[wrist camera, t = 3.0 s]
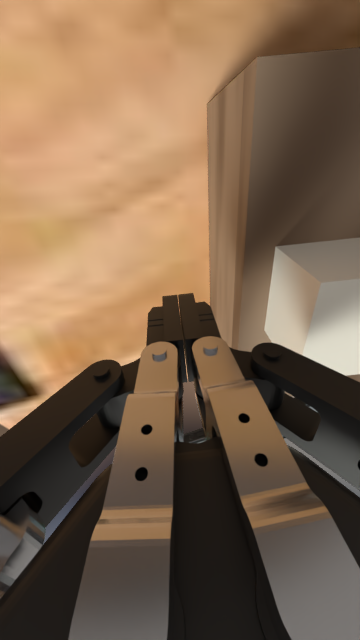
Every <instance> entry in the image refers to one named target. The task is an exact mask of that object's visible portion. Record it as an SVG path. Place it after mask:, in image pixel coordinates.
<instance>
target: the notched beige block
mask: <svg viewBox="0 0 360 640" xmlns="http://www.w3.org/2000/svg"><path fill="white" fill-rule="evenodd" d="M207 129H208V193H209V257H210V307H211V309H212V312H213V315H214V318H215V321H216V323H217V326H218V329H219V332H220V335H221V338H222V339H223V340H224V341H225V342H226V343H227V344H228V346H229V347H230V348H233V349H236V350H240V351H248V352H252V349H253V348H254V347H255V346H256V345H258V344H261V343H268V342H269V343H272V342H271V340H270V339H269V337H268V335H267V334H266V332H265V330H264V329H265V321H266V314H267V306H268V299H269V292H270V284H271V277H272V270H273V262H274V255H275V248H276V246H285V245H294V244H303V243H313V242H322V241H332V240H341V239H350V238H360V47H359V48H349V49H338V50H327V51H316V52H306V53H295V54H284V55H274V56H263V57H257V58H256V59H255V60H254V61H252V62H251V63H250V64H249V65H248V66H247V67H246V68H245V69H244V70H243V71H242V72H241V73H240V74H239V75H238V76H237V77H236V78H234V79H233V80H232V81H231V82H230V83H229V84H228V85H227V86H226V87H225V88H224V89H223V90H222V91H221V92H220V93H219V94H217V95H216V96H215V97H214V98H213V99H212V100H211V101H210V102H209V103H208V104H207ZM347 377H350V378H352V379H354V380H356V381H358V382H360V374H356V375H348V376H347ZM285 393H286V394H287V395H289V396H292V395H291V394H289V393H287V392H286V391H285Z"/></svg>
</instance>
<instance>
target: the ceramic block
mask: <svg viewBox="0 0 360 640" xmlns="http://www.w3.org/2000/svg"><path fill="white" fill-rule="evenodd" d="M264 330H265V332H266V334H267V335H268V337H269V339H270V340H271V342H272V343H276V344H279V345H282V346H284V347H286V348H288V349H290V350H292V351H294V352H296V353H299V354H301V355H303V356H305V357H307V358H309V359H311V360H313V361H316V362H318V363H320V364H322V365H324V366H326V367H328V368H330V369H333V370H335V371H337V372H339V373H341V374H343V375H345V376H348V375H356V374H360V238H350V239H341V240H332V241H322V242H313V243H303V244H294V245H285V246H276V248H275V255H274V262H273V270H272V277H271V284H270V292H269V299H268V306H267V314H266V321H265V329H264Z"/></svg>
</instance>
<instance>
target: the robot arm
mask: <svg viewBox="0 0 360 640" xmlns="http://www.w3.org/2000/svg"><path fill="white" fill-rule="evenodd" d="M178 297H179V305H178V298H177V295H171V296H163V306H162V307H153V308H152V309H151V311H150V312H149V313H148V327H147V344H146V347H145V348H144V350H143V351H142V353H141V357H140V358H139V359H138V360H136V361H134V362H132V363H129V364H127V365H124V366H120V364H119V363H118V362H116V361H114V360H102V361H98V362H96V363H94V364H92V365H90V366H89V367H88V368H87V369H85V370H84V371H83V372H82V373H80V374H79V375H78V376H76V377H75V378H74V379H73V380H71V381H70V382H69V383H68V384H66V385H65V386H64V387H63V388H61V389H60V390H59V391H58V392H56V393H55V394H54V395H53V396H51V397H50V398H49V399H47V400H46V401H45V402H44V403H42V404H41V405H40V406H39V407H37V408H36V409H35V410H34V411H32V412H31V413H30V414H29V415H27V416H26V417H25V418H24V419H22V420H21V421H20V422H18V423H17V424H16V425H15V426H13V427H12V428H11V429H10V430H8V431H7V432H6V433H5V434H3V435H2V436H1V437H0V640H360V498H359V497H358V496H357V495H356V494H354V493H353V492H351V491H350V490H349V489H348V488H346V487H345V486H344V485H342V484H341V483H340V482H339V481H337V480H336V479H335V478H333V477H332V476H331V475H329V474H328V473H327V472H326V471H324V470H323V469H322V468H320V467H319V466H318V465H317V464H315V463H314V462H313V461H311V460H310V459H309V458H307V457H306V456H305V455H303V454H302V453H300V452H299V451H297V450H296V449H294V448H292V447H290V446H288V445H287V444H286V443H285V441H284V438H283V437H282V435H283V436H284V437H286V438H287V439H288V440H290V441H291V442H293V443H294V444H295V445H297V446H298V447H299V448H301V449H302V450H304V451H305V452H306V453H308V454H309V455H311V456H312V457H313V458H315V459H316V460H318V461H319V462H320V463H322V464H323V465H325V466H326V467H327V468H329V469H331V470H332V471H333V472H334V473H336V474H337V475H339V476H340V477H342V478H343V479H344V480H346V481H347V482H348V483H350V484H351V485H353V486H354V487H356V488H357V489H358V490H360V382H358V381H356V380H354V379H352V378H350V377H347V376H345V375H343V374H341V373H339V372H337V371H335V370H333V369H330V368H328V367H326V366H324V365H322V364H320V363H318V362H316V361H313V360H311V359H309V358H307V357H305V356H303V355H301V354H299V353H296V352H294V351H292V350H290V349H288V348H286V347H284V346H282V345H279V344H276V343H269V342H268V343H261V344H258V345H256V346H255V347H254V348H253V349H252V352H248V351H240V350H236V349H233V348H230V347H229V346H228V344H227V343H226V342H225V341H224V340H223V339H222V338H221V335H220V332H219V329H218V326H217V323H216V321H215V318H214V315H213V312H212V309H211V307H210V306H209V305H208V304H207V303H206V302H198V303H195V299H194V295H193V293H189V294H180V295H178ZM179 308H180V313H179ZM180 318H181V320H180ZM184 351H185V354H184ZM185 358H186V364H185ZM186 365H187V373H188V380H189V382H191V381H194V386H195V396H196V401H197V405H198V409H199V413H200V418H201V421H202V426H203V430H204V434H205V438H206V441H204V442H201V443H197V444H195V443H187V442H184V441H183V391H184V390H183V382H187V375H186ZM285 391H286V392H287V393H289V394H291V395H292V396H294V397H296V398H297V399H299V400H301V401H302V402H304V403H306V404H308V405H309V406H311V407H312V408H314V409H315V410H316V411H317V412H316V411H314V410H312V409H311V408H309V407H307V406H306V405H304V404H302V403H301V402H299V401H297V400H296V399H294V398H292V397H291V396H289V395H287V394H286V393H285ZM88 420H89V421H88ZM87 421H88V422H87ZM86 422H87V423H86ZM85 423H86V424H85ZM84 424H85V425H84ZM83 425H84V426H83ZM82 426H83V427H82ZM115 446H116V450H115V454H114V459H113V463H112V464H111V465H110V466H109V467H108V468H106V469H105V470H104V471H103V472H102V473H101V474H100V475H99V476H98V477H97V478H96V479H95V481H94V482H93V483H92V484H91V485H90V487H89V488H88V489H87V490H86V492H85V493H84V494H83V496H82V497H81V498H80V499H79V501H78V502H77V503H76V504H75V506H74V507H73V508H72V509H71V511H70V512H69V513H68V515H67V516H66V517H65V518H64V519H63V521H62V522H61V523H60V524H59V526H58V527H57V528H56V530H55V531H54V532H53V533H52V535H51V536H50V537H49V538H48V540H47V541H46V542H45V543H44V539H45V530H46V529H45V527H46V526H47V525H48V524H49V523H50V521H51V520H52V519H53V518H54V517H55V516H56V515H57V514H58V512H59V511H60V510H61V509H62V508H63V507H64V505H65V504H66V503H67V502H68V501H69V499H70V498H71V497H72V496H73V495H74V494H75V493H76V491H77V490H78V489H79V488H80V486H82V485H83V483H84V482H85V481H86V480H87V479H88V478H89V476H90V475H91V474H92V473H93V472H94V470H95V469H96V468H97V467H98V466H99V465H100V464H101V462H102V461H103V460H104V459H105V458H106V456H107V455H108V454H109V453H110V452H111V451H112V450H113V449H114V447H115ZM43 543H44V545H43Z"/></svg>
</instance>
